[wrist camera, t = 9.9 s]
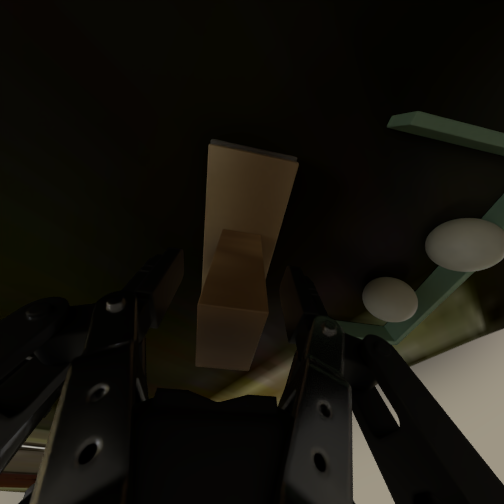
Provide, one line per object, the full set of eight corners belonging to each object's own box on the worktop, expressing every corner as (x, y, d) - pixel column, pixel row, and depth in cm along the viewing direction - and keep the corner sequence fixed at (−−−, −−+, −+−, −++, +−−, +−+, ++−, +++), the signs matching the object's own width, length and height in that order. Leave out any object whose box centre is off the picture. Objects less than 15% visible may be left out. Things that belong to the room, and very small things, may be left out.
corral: (295, 318, 21) (299, 334, 19) (391, 115, 11) (417, 110, 9) (385, 329, 22) (396, 345, 20) (547, 155, 12) (596, 156, 10)
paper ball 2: (402, 252, 15) (457, 284, 12) (435, 207, 13) (512, 231, 10) (432, 253, 16) (489, 282, 13) (466, 212, 14) (543, 234, 11)
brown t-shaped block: (206, 287, 18) (170, 405, 10) (216, 139, 11) (131, 129, 3) (254, 294, 19) (257, 410, 10) (291, 155, 12) (377, 181, 4)
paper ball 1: (362, 292, 20) (348, 307, 17) (383, 263, 18) (369, 276, 15) (404, 318, 17) (394, 340, 15) (433, 288, 15) (426, 308, 13)
